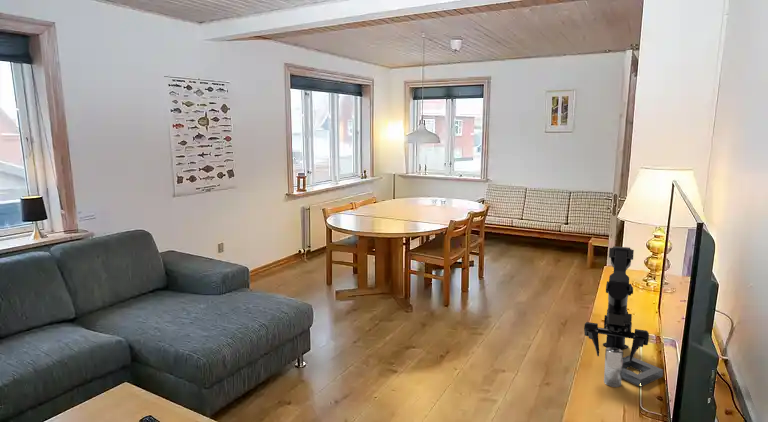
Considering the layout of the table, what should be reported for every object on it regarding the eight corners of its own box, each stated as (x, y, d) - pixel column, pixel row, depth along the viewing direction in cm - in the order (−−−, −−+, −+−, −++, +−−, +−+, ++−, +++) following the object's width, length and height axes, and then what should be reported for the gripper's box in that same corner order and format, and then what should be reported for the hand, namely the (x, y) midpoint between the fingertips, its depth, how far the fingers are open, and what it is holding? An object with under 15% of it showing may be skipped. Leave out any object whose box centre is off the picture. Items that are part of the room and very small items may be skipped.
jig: (628, 362, 168) (629, 355, 168) (662, 376, 158) (663, 369, 158) (606, 371, 163) (606, 364, 162) (639, 387, 152) (640, 379, 152)
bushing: (610, 377, 159) (612, 345, 157) (624, 384, 154) (626, 351, 152) (600, 381, 156) (602, 349, 154) (614, 388, 152) (616, 355, 150)
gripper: (586, 298, 160) (581, 343, 152) (650, 306, 151) (649, 354, 143) (586, 313, 168) (582, 356, 160) (648, 321, 159) (646, 367, 152)
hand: (614, 358), depth 153 cm, fingers open, 9 cm apart
